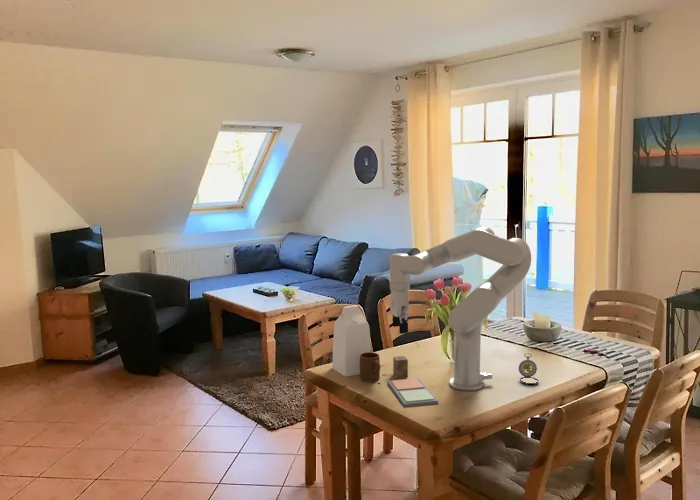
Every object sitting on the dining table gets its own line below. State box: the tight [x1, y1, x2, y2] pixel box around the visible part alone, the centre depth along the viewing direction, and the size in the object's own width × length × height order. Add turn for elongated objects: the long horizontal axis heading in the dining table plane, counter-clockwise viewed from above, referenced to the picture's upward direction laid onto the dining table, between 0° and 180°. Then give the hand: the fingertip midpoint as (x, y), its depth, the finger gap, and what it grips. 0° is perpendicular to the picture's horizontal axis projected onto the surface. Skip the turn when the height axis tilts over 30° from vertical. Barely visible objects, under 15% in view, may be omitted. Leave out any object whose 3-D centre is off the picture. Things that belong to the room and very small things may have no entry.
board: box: [387, 377, 439, 407], centre depth 211 cm, size 12×22×1 cm, turn 11°
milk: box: [331, 305, 372, 377], centre depth 235 cm, size 12×12×26 cm
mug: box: [359, 351, 381, 383], centre depth 223 cm, size 12×8×9 cm, turn 23°
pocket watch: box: [518, 352, 539, 385], centre depth 220 cm, size 8×8×10 cm
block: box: [392, 355, 409, 379], centre depth 228 cm, size 4×4×7 cm
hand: (400, 329), depth 226 cm, fingers open, 9 cm apart
